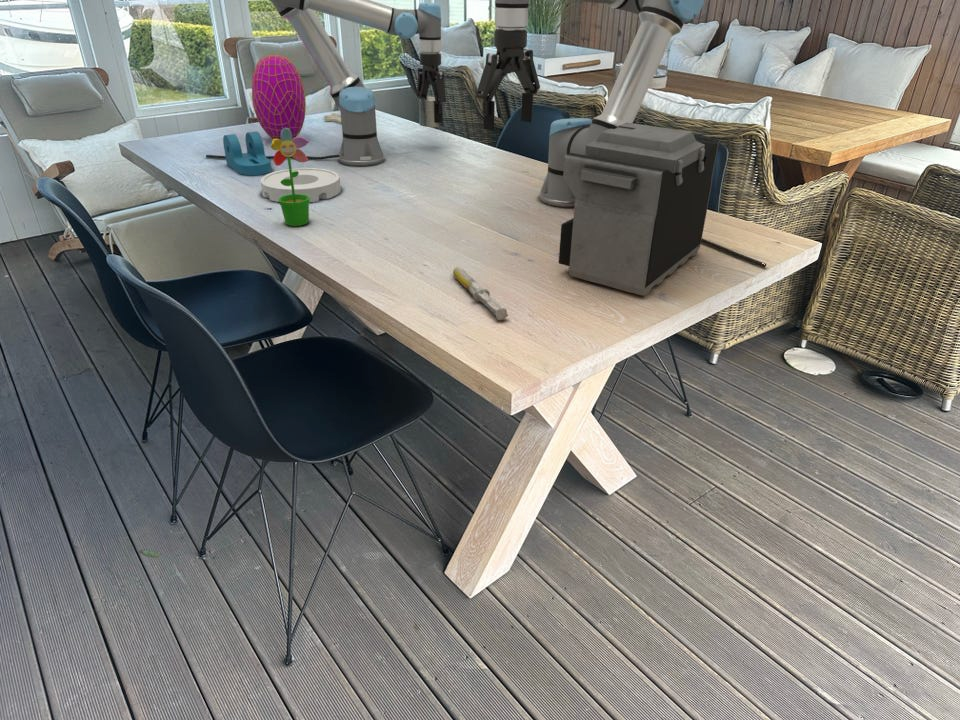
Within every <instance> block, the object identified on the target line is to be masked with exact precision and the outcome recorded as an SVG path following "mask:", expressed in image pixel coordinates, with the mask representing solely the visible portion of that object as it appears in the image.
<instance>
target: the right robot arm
mask: <svg viewBox="0 0 960 720" xmlns="http://www.w3.org/2000/svg"><path fill="white" fill-rule="evenodd" d="M571 1H574V2H585V3H595V4H604V5H606V7H607V8H609V9H613V10H614V9H615V10H621V11H624V12H628V13H632V14H635V15H638V18H639V21H640V25H639V28H638V30H637V32H636V34H635V36H634V39H633V40H632V43H631V46H630V48H629V50H628V52H627V55H626V57H625V60H624V61H623V64H622V67H621V68H620V71H619V73H618V75H617V77H616V80H615V82H614V85H613V87H612V89H611V92H610V93H609V96H608V99H607V101H606V103H605V105H604V108H603V110H602V112H601V114H599V115H597V116H595V117H593V119H592V118H589V117H588V118H587V117H575V118H574V117H573V118H562V119H556V120H554V121H553V122H551V124H550V129H549V134H548V136H549V138H548V139H549V141H548V156H547V158H548V159H547V173H546V176H545V178H544V181H543V184H542V187H541V189H540V192H539V200H540V202H542V203H543V204H546V205H549V206H553V207H558V208H559V207H560V208H574V206H575V201H576V198H575V196H574V195H573V193H572V191H571V189H570V188H569V186H568V184H567V183H566V181H565V179H564V178H563V173H564V159H565V155H567V154H569V153H575V154H580V155H585V148H586V145H587V144H590V143H592V142H594V141H596V140H597V138H598V137H599V135H600V134H601V132H603V131H606V130H608V129H616V128H618V126H619V125H622V124H624V123H634V121H635V119H636V117H637V114H638V113H639V110H640V109H641V106H642V103H643V102H644V99H645V97H646V95H647V93H648V90H649V88H650V86H651V83H652V81H653V79H654V77H655V75H656V72H657V70H658V68H659V66H660V64H661V62H662V60H663V57H664V54H665V52H666V50H667V48H668V45H669V43H670V42H671V39H672V37H673V36H676V35H678V34H680V33H681V32H682V28H683V27H684V24H685V22H688V21H691V20H693V19H694V18H696V17H697V16H698V15H699V14H700V12H701V10H702V8H703V5H704V1H705V0H571ZM529 3H530V0H494V27H496V29H494V31H493V46H494V47H495V48H496V52H495V53H490V52H488V53H486V55H485V64H484V66H483V67H484V68H483V70H482V75H481V76H480V79H479V83H478V87H477V90H476V91H475V92H476V93H475V98H476V99H479V100H481V101H482V115H483V130H487V131H492V132H493V131H495V106H496V105H495V100H493V99H494V97H495V95H496V93H497V91H498V89H499V88H500V85H501V83H502V81H503V79H504V77H506V76H507V75H508V74H509V75H510V74H512V73H514V74H515V76H516V77H517V79H518V81H519V83H520V86H521V87H522V89H523V91H524V92H522V93H521V110H520V111H521V112H520V113H521V115H520V121H521V122H526V123H532V118H533V117H532V115H533V106H534V95H537V94H538V92H539V90H540V88H541V84H540V81H539V77H538V74H537V68H536V65H535V61H534V50H532V49H527V46H528V31H527V29H526V28H528V26H529ZM701 244H704V245H707V246H709V247H712V248H714V249H717V250H719V251H722V252H724V253H727V254H728V255H731V256H734V257H735V258H738V259H740V260H744V261H746V262H749V263H751V264H754V265H756V266H759V267H762V268H766V267H767V263H765V262H763V261H760V260H758V259H755V258H752V257H749V256H747V255H744V254H741V253H739V252H736V251H734V250H732V249H729V248H728V247H724V246H722V245H719V244H718V243H715V242H712V241H710V240H707V239H705V238H702V240H701ZM762 263H764V264H765V265H764V264H762Z"/></svg>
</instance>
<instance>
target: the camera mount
mask: <svg viewBox="0 0 960 720" xmlns="http://www.w3.org/2000/svg"><path fill="white" fill-rule="evenodd" d="M222 140H223V141H222V143H223V149H224V150H223V151H224V156H226V159H225V161H226V165H227V166H228V167H230V168H231V169H232V170H234V171H236V172H237V173H238V174H239V175H244V176H260V175H267V174H270V173H271V172H272V164H271V159H268V158H266V156H267V155H266V153H265V145H264V141H263V139H262V136H261V134H260V132H258V131H247V132H246V133H245V146H246V152H243V151H242V150H243V149H242V146H241V142H240V140H239V138H238V135H236V134H235V133H231V134H224V135H223V138H222Z"/></svg>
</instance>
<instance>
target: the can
mask: <svg viewBox="0 0 960 720" xmlns="http://www.w3.org/2000/svg"><path fill="white" fill-rule="evenodd" d="M435 102H436V101H435V97H434V96H427V97H421V98H419V97H418V114H419V115H418V116H419V117H418V121H419V126H421V127H424V128H425V127H426V128H440V127H442V126H444V103H442V122H440V123H435V117H434V103H435Z"/></svg>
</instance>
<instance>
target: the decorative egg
mask: <svg viewBox="0 0 960 720" xmlns="http://www.w3.org/2000/svg"><path fill="white" fill-rule="evenodd" d="M253 70H254V71H253V73H252V77H251V101H252V107H253V110H254V114H255V116H256V118H257V121H258V123H259V125H260V127H261V128H262V130H263V131H264V133H266V135H267V136H268V137H270V138H271V139H272V140H273V139H279V140H281V136H280V134H281V131H282V130H283V129H284V128H288V129H289V130H290V131H291V134H292V139H293V138H295V137H298V136H299V134H301V131H302V129H303V127H304V123H305V118H306V104H307V103H306V102H307V101H306V99H307V97H306V93H305V88H304V84H303V81H302V77H301V75H300V73H299V71H298V69H297V67H296V66H295V65H294V63H293V62H292V61H291V60H290V59H288V58H287V57H285V56H282V55H280V54H268V55H265V56H262V57H261V58H260V59H259V60H258V61H257V62H256V65H255V68H254V69H253ZM281 141H282V140H281Z"/></svg>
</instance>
